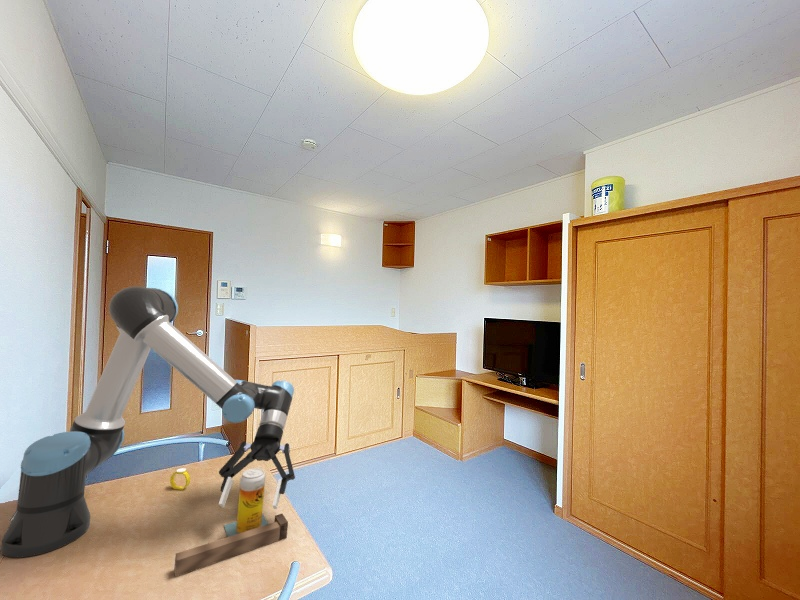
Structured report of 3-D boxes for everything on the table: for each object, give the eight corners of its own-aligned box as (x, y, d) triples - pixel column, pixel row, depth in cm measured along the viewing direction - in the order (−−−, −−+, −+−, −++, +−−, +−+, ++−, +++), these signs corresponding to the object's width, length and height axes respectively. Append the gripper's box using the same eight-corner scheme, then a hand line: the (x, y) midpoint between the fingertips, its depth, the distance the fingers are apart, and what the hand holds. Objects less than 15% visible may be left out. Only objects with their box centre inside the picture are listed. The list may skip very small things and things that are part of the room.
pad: (231, 545, 84) (231, 544, 84) (223, 526, 91) (224, 525, 91) (271, 532, 90) (272, 530, 90) (262, 514, 97) (262, 513, 97)
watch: (190, 488, 109) (193, 469, 109) (183, 492, 106) (187, 473, 106) (173, 484, 110) (176, 466, 110) (166, 488, 107) (170, 470, 107)
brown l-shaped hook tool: (175, 577, 73) (176, 558, 73) (173, 564, 77) (175, 546, 77) (286, 537, 88) (288, 522, 88) (281, 528, 92) (282, 513, 92)
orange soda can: (248, 540, 86) (253, 480, 86) (230, 533, 88) (235, 474, 89) (265, 526, 91) (270, 470, 92) (248, 520, 94) (253, 465, 94)
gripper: (313, 436, 107) (298, 512, 91) (232, 432, 105) (203, 509, 89) (311, 424, 102) (294, 503, 86) (226, 420, 100) (194, 500, 84)
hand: (248, 506), depth 88 cm, fingers open, 13 cm apart
